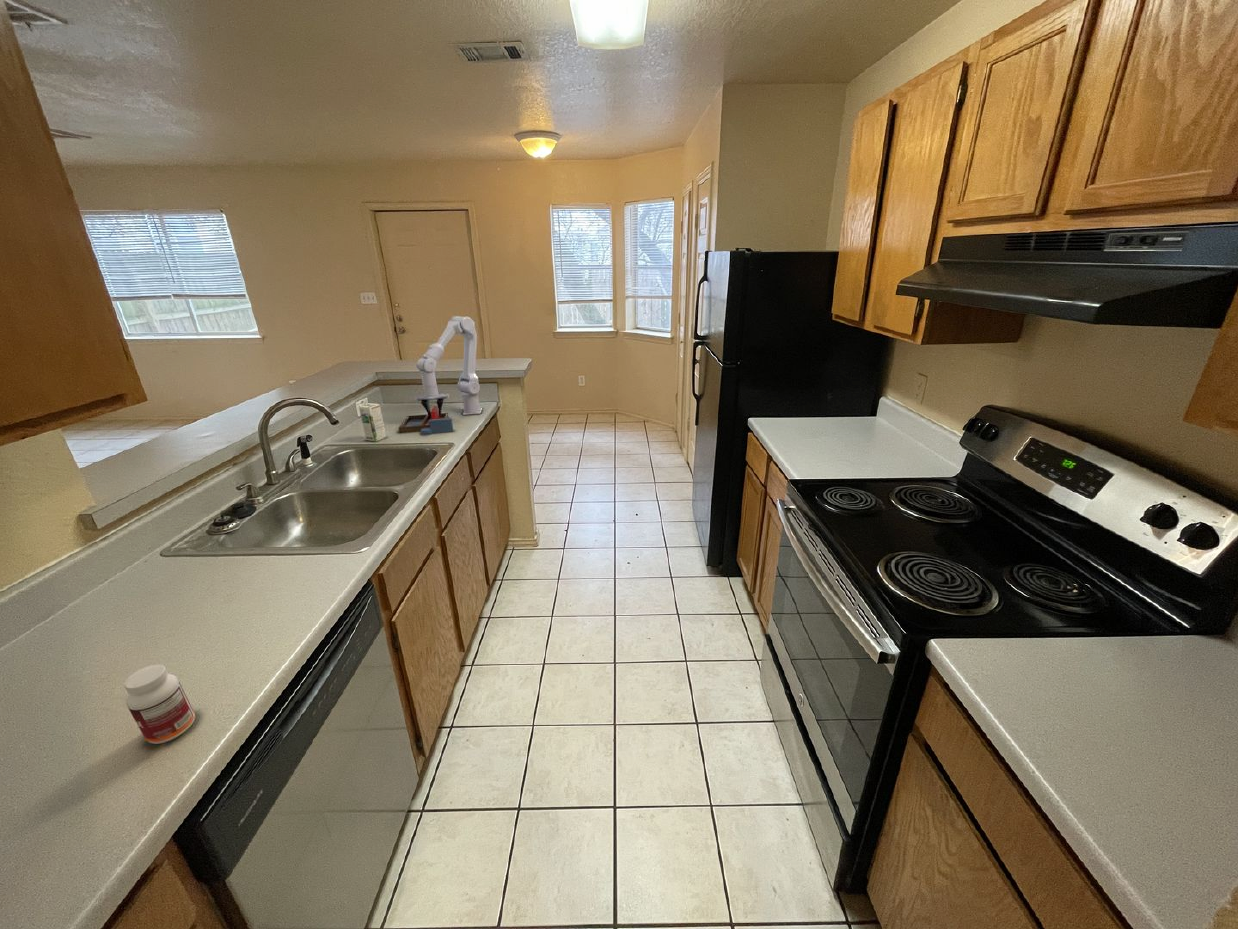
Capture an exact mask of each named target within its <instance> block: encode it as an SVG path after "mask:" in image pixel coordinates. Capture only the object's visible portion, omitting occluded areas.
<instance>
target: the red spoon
mask: <svg viewBox="0 0 1238 929" xmlns="http://www.w3.org/2000/svg"><path fill="white" fill-rule="evenodd" d="M430 411H431V417H432V420H433V419H439V411H438V406H437V405H435V406H433V407H432V409H430ZM428 425H429V421H428Z"/></svg>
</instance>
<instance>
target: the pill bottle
mask: <svg viewBox="0 0 1238 929" xmlns="http://www.w3.org/2000/svg"><path fill="white" fill-rule="evenodd" d="M123 686H124V688H125V690H126V692H127V693H128V694H127V695H126V698H125V705H126V707H127V709H128V710H129V713H130V714H131V716H132V718H133V719H134V722H135V723H136V724H137V727H138V729H139V730H140V732H141V734H142V735H143V738H144V739H145V741H146V742H148V743H149V744H154V745H159V744H164V743H167V742H170V741H172V740H174V739H176V738H178V737H179V736H181V735H183V734H184V733H185V732H186V731H188V730H189V728H191V727H192V725H193V723H194V721H195V719H196V713H195V711H194V709H193V707H192V705H191V703H190V701H189V699H188V696H187V694H186V692H185V690H184V688H183V686H182V684H181V682H180V680H179V678H178V677H177V676H175V675H174V674H171V673H168V671H167V669H166V667H165V666H164V665H162V664H151V665H149V666H145V667H142V668H141V669H139V670H137V671H135V672H134V673H132V674H131V675H130V676H129V677H127V678H126V680H125V681H124V685H123Z"/></svg>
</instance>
